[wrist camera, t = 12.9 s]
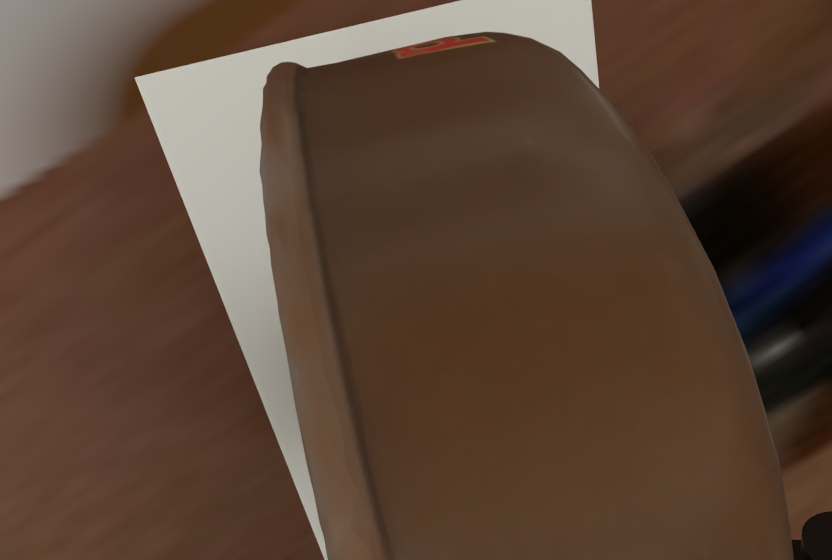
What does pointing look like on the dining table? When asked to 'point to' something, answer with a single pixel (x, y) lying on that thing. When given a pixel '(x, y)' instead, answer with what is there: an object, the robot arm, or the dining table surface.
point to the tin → (503, 319)
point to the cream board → (241, 149)
